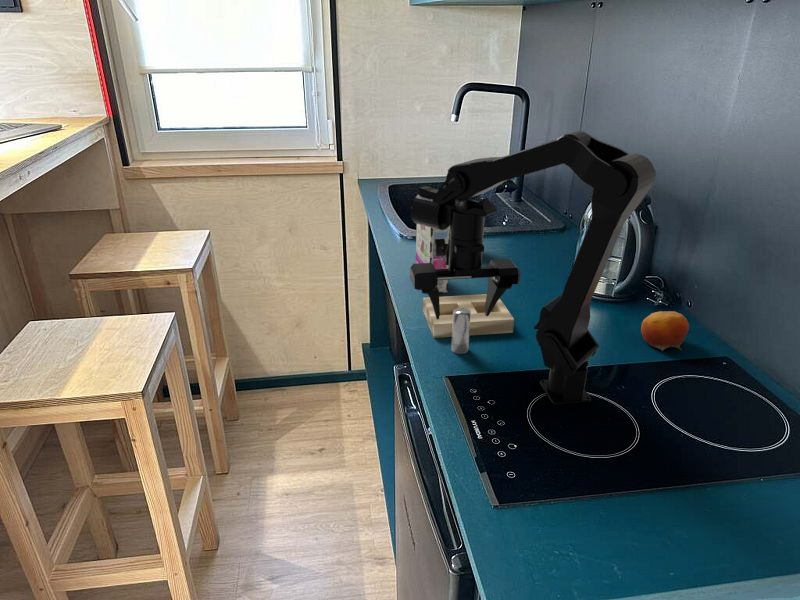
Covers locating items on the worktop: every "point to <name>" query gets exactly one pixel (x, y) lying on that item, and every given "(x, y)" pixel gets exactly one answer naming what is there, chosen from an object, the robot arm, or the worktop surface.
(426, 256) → the candy bar box
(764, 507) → the worktop surface
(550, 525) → the worktop surface
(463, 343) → the pin
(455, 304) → the socket block
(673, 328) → the fruit
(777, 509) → the worktop surface
